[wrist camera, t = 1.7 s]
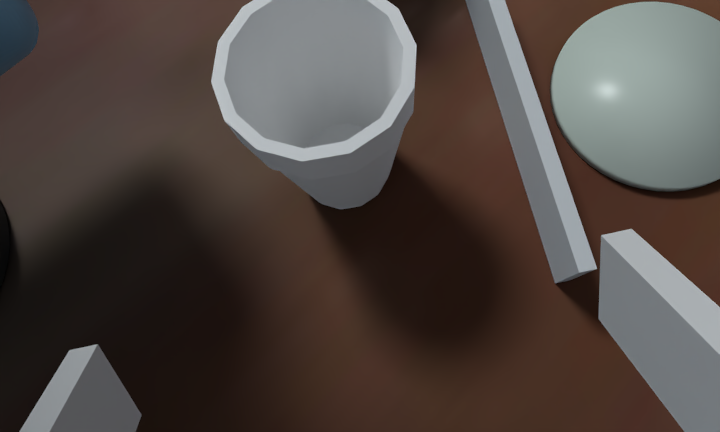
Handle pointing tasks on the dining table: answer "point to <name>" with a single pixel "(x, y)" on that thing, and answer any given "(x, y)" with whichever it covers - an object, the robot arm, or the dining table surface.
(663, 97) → the resting disc
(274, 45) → the foam cup
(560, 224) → the acrylic wall
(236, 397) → the dining table surface
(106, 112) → the dining table surface
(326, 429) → the dining table surface
